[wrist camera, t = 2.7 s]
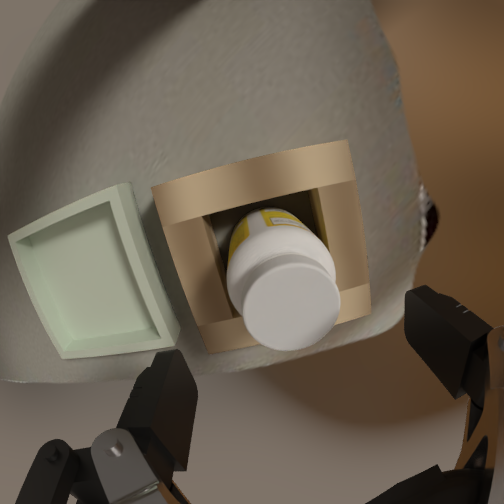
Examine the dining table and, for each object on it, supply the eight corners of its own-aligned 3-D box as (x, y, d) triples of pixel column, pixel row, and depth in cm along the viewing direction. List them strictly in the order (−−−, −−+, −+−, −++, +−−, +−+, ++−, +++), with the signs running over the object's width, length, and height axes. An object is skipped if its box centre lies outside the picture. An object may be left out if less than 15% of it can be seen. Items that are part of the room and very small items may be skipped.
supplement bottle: (248, 289, 21) (253, 379, 12) (218, 223, 20) (196, 277, 10) (316, 262, 21) (367, 334, 11) (290, 193, 19) (336, 220, 10)
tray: (73, 344, 22) (62, 359, 20) (24, 228, 19) (7, 235, 16) (181, 328, 22) (175, 345, 19) (130, 182, 18) (116, 184, 16)
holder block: (212, 332, 22) (208, 354, 19) (163, 184, 19) (150, 187, 16) (356, 295, 22) (371, 313, 19) (332, 142, 18) (347, 139, 15)
